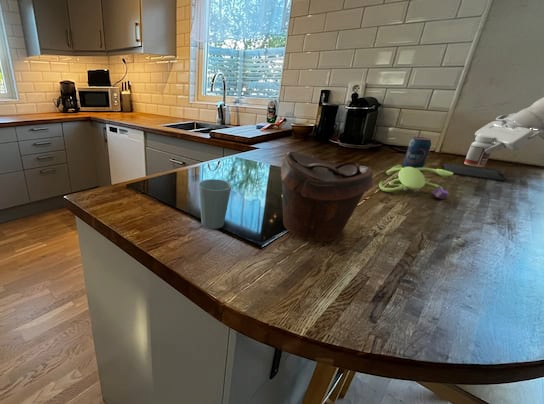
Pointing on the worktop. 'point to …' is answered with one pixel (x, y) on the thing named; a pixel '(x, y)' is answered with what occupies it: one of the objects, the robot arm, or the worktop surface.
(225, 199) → the cup
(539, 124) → the robot arm
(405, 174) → the green soft sprawling figure
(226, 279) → the worktop surface
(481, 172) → the mat
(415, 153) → the soda can
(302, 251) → the worktop surface
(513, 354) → the worktop surface
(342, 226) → the brown tapered round container
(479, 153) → the pill bottle
